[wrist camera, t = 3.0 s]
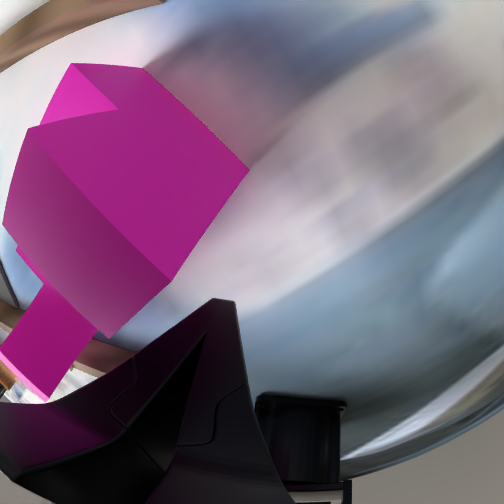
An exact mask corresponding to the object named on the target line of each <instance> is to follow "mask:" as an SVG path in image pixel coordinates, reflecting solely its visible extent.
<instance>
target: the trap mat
mask: <svg viewBox="0 0 504 504" xmlns="http://www.w3.org/2000/svg"><path fill="white" fill-rule="evenodd" d="M0 300H1V301H3V302H5V303H7V304H9V305H11V306H13V307H15V308H18V307H19V304H18V302H17V300H16V298H15V296H14V294H13V291H12V289H11V287H10V285H9V282H8V280H7V278H6V275H5V273H4V270H3V268H2V265H1V262H0Z"/></svg>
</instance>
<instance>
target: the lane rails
mask: <svg viewBox="0 0 504 504" xmlns="http://www.w3.org/2000/svg"><path fill="white" fill-rule="evenodd" d="M163 1H164V0H51V1H49V2H47V3H46V4H44V5H42V6H41V7H39V8H38V9H36V10H35V11H33V12H32V13H30V14H29V15H27V16H26V17H24V18H23V19H22V20H20V21H19V22H18V23H16V24H15V25H14V26H12V27H11V28H10V29H8V30H7V31H6V32H5V33H3V34H2V35H1V36H0V73H1V72H2V71H4V70H5V69H7V68H8V67H10V66H11V65H13V64H15V63H16V62H18V61H19V60H21V59H23V58H24V57H26V56H28V55H29V54H31V53H33V52H35V51H36V50H38V49H40V48H42V47H44V46H46V45H48V44H50V43H52V42H54V41H56V40H58V39H60V38H62V37H64V36H66V35H68V34H70V33H73V32H75V31H77V30H80V29H82V28H85V27H87V26H90V25H92V24H95V23H97V22H100V21H103V20H106V19H108V18H111V17H114V16H117V15H121V14H124V13H127V12H131V11H134V10H138V9H141V8H145V7H149V6H153V5H158V4H162V3H163ZM25 312H26V311H24V310H21V309H19V308H15V307H13V306H11V305H9V304H7V303H5V302H3V301H1V300H0V328H2V329H4V330H5V331H7V332H8V333H11V332H12V330H13V329H14V328H15V326H16V325H17V323H18V322H19V321H20V319H21V318H22V316H23V315H24V313H25ZM134 354H136V352H133V351H129V350H126V349H123V348H119V347H116V346H113V345H110V344H107V343H104V342H101V341H98V340H95V339H91V340H90V341H89V342H88V344H87V345H86V346H85V348H84V349H83V350H82V352H81V353H80V354H79V356H78V357H77V358H76V360H75V361H74V363H73V364H72V365H71V367H70V368H69V371H72V370H73V367H74V368H76V369H78V370H81V371H83V372H85V373H88V374H90V375H92V376H95V377H97V378H99V377H101V376H103V375H104V374H106V373H108V372H109V371H111V370H112V369H114V368H115V367H117V366H118V365H120V364H121V363H123V362H124V361H126V360H127V359H129V358H130V357H133V355H134Z"/></svg>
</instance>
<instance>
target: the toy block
mask: <svg viewBox="0 0 504 504" xmlns="http://www.w3.org/2000/svg"><path fill="white" fill-rule="evenodd" d="M248 171H249V169H248V168H247V167H246V166H245V165H244V164H243V163H242V162H241V161H240V160H239V159H238V158H237V157H236V156H235V155H234V154H233V153H232V152H231V151H230V150H229V149H228V148H227V147H226V146H225V145H224V144H223V143H222V142H221V141H220V140H219V139H218V138H217V137H216V136H215V135H214V134H213V133H212V132H211V131H210V130H209V129H208V128H207V127H206V126H205V125H204V124H203V123H202V122H201V121H200V120H199V119H198V118H197V117H195V116H194V115H193V114H192V113H191V112H190V111H189V110H188V109H187V108H186V107H185V106H184V105H183V104H182V103H181V102H179V101H178V100H177V99H176V98H175V97H174V96H173V95H172V94H171V93H170V92H169V91H167V90H166V89H165V88H164V87H163V86H162V85H161V84H160V83H158V82H157V81H156V80H155V79H154V78H153V77H152V76H151V75H149V74H148V73H147V72H146V71H145V70H144V69H143V68H137V67H128V66H118V65H105V64H86V63H71V64H70V66H69V67H68V69H67V71H66V73H65V74H64V76H63V78H62V80H61V82H60V83H59V85H58V87H57V89H56V91H55V93H54V95H53V97H52V99H51V101H50V103H49V105H48V107H47V109H46V112H45V114H44V116H43V118H42V121H41V123H40V125H39V126H35V127H32V128H28V130H27V133H26V136H25V138H24V141H23V144H22V147H21V150H20V153H19V156H18V159H17V163H16V166H15V170H14V173H13V177H12V181H11V185H10V189H9V193H8V197H7V202H6V207H5V212H4V218H3V223H2V224H3V226H4V227H5V229H6V230H7V231H8V233H9V234H10V235H11V237H12V238H13V239H14V241H15V242H16V243H17V244H18V247H17V249H16V251H17V253H18V254H19V255H20V256H21V258H22V259H23V260H24V261H25V262H26V264H27V265H28V266H29V267H30V268H31V270H32V271H33V272H34V273H35V274H36V275H37V276H38V278H39V279H40V280H41V281H42V282H43V283H44V285H43V286H42V288H41V289H40V291H39V292H38V294H37V296H36V297H35V299H34V300H33V302H32V303H31V305H30V306H29V308H28V309H27V310H26V312H25V313H24V315H23V316H22V318H21V319H20V321H19V322H18V323H17V325H16V326H15V328H14V329H13V330H12V332H11V333H10V334H9V336H8V337H7V338H6V340H5V341H4V343H3V344H2V345H1V346H0V360H1V361H2V362H3V363H4V364H5V365H6V366H7V367H8V368H9V369H10V370H11V371H12V372H13V373H14V374H15V375H16V376H17V377H18V378H19V379H20V380H21V381H22V382H23V383H24V384H25V385H26V386H27V387H28V388H29V389H31V390H32V391H33V392H34V393H35V394H36V395H37V396H39V397H40V398H41V399H42V400H43V401H44V402H46V401H47V400H48V399H49V398H50V396H51V395H52V393H53V392H54V390H55V389H56V387H57V386H58V384H59V383H60V381H61V380H62V378H63V377H64V375H65V374H66V372H67V371H68V370H69V368H70V367H71V365H72V364H73V363H74V361H75V360H76V358H77V357H78V356H79V354H80V353H81V352H82V350H83V349H84V348H85V346H86V345H87V344H88V342H89V341H90V340H91V339H92V337H93V336H94V335H95V334H96V332H97V331H98V330H99V331H100V332H101V333H103V334H104V335H105V336H106V337H107V338H108V339H110V338H111V337H112V336H113V335H114V334H115V333H116V332H117V331H118V330H119V329H120V328H121V327H122V326H123V325H125V324H126V323H127V322H128V321H129V320H130V319H131V318H132V317H133V316H134V315H135V314H136V313H137V312H138V311H139V310H141V309H142V308H143V307H144V306H145V305H146V304H147V303H148V302H149V301H150V300H151V299H152V298H154V297H155V296H156V295H157V294H158V293H159V292H160V291H161V290H162V289H163V288H164V287H166V286H167V285H168V284H169V283H170V282H171V281H172V280H173V278H174V277H175V275H176V274H177V272H178V271H179V269H180V268H181V266H182V265H183V263H184V262H185V260H186V259H187V257H188V256H189V254H190V253H191V251H192V250H193V248H194V247H195V245H196V244H197V242H198V241H199V239H200V238H201V237H202V235H203V234H204V232H205V231H206V229H207V228H208V227H209V225H210V224H211V222H212V221H213V219H214V218H215V217H216V215H217V214H218V212H219V211H220V210H221V208H222V207H223V205H224V204H225V203H226V201H227V200H228V199H229V197H230V196H231V194H232V193H233V192H234V190H235V189H236V188H237V186H238V185H239V183H240V182H241V181H242V179H243V178H244V177H245V175H246V174H247V173H248Z"/></svg>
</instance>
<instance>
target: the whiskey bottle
mask: <svg viewBox="0 0 504 504" xmlns="http://www.w3.org/2000/svg"><path fill="white" fill-rule="evenodd" d="M17 379H18V377H17V376H16V375H15V374H14V373H13V372H12V371H11V370H10V369H9V368H8V367H7V366H6V365H5V364H4V363H3V362H2V361H1V360H0V398H1V397H2V396H3V394H4V393H5V391H6V390H10V389H11V387H12V386H13V385H14V383H15V382H16V381H17Z"/></svg>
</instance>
